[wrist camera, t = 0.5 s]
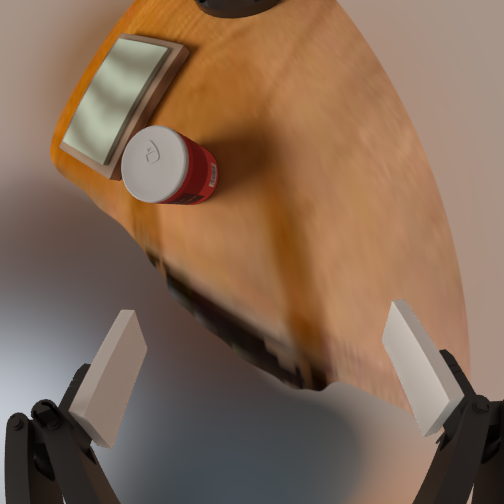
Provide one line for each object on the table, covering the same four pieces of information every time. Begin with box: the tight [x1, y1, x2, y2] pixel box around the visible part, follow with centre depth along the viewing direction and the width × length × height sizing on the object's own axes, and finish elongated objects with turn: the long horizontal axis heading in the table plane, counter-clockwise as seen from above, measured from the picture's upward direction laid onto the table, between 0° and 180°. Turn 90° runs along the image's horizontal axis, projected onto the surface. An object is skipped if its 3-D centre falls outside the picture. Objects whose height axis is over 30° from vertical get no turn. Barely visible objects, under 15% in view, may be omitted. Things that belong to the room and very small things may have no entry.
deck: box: [59, 33, 190, 181], centre depth 36 cm, size 22×14×4 cm, turn 151°
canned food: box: [121, 126, 219, 205], centre depth 32 cm, size 8×8×11 cm
